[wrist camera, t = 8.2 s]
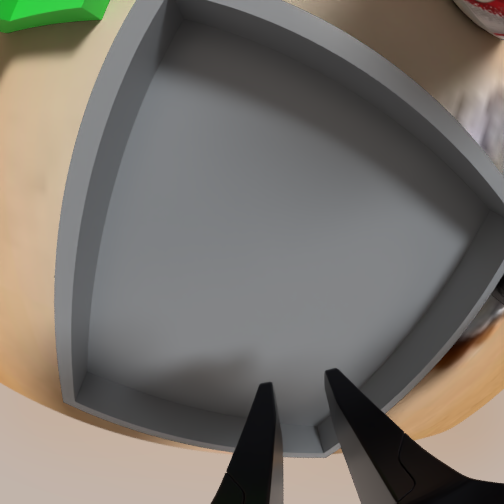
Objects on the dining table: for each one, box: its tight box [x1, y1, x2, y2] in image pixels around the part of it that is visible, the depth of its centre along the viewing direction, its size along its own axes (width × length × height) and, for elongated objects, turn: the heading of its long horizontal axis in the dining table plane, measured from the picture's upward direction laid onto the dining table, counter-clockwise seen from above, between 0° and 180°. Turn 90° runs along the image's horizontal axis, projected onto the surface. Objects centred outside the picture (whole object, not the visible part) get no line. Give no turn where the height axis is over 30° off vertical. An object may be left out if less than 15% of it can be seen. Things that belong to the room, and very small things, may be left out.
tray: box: [54, 0, 504, 458], centre depth 11 cm, size 18×20×3 cm
